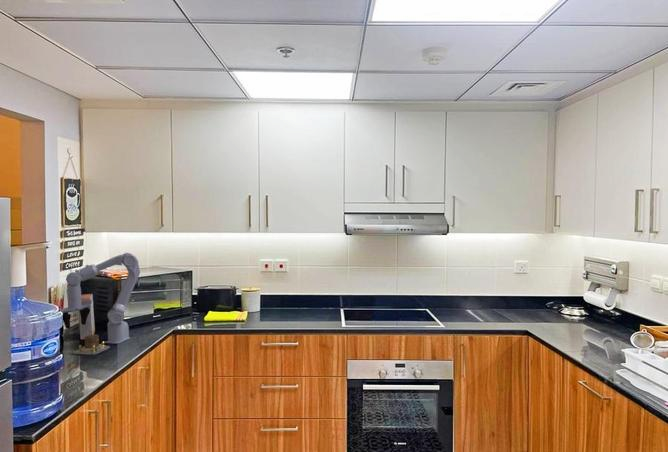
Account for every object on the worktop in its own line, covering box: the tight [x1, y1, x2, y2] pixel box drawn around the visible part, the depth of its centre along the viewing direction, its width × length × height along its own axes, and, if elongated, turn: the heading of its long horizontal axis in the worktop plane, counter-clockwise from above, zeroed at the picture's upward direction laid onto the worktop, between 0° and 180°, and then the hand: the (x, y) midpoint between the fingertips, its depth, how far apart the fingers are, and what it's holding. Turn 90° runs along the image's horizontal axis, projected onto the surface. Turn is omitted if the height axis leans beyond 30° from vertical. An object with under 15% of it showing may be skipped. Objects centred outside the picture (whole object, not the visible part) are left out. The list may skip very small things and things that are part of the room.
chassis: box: [73, 341, 111, 356], centre depth 207 cm, size 10×11×4 cm
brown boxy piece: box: [81, 334, 105, 352], centre depth 207 cm, size 8×9×6 cm
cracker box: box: [77, 293, 96, 340], centre depth 233 cm, size 14×6×21 cm, turn 23°
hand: (75, 326), depth 213 cm, fingers open, 7 cm apart
